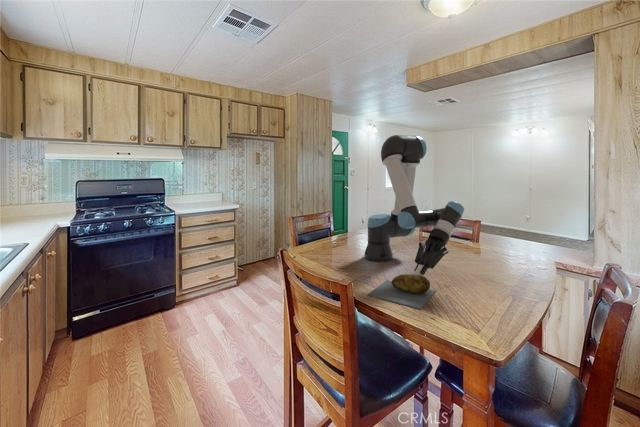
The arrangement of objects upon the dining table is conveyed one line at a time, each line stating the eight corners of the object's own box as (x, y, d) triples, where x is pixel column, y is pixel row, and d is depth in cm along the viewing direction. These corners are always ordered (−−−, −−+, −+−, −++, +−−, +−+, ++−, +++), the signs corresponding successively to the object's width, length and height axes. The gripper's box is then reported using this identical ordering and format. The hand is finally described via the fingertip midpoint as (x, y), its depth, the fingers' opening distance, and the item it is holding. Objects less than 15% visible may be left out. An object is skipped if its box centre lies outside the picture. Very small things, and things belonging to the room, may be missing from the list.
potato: (396, 267, 115) (401, 263, 107) (427, 282, 112) (434, 278, 105) (388, 286, 112) (393, 283, 105) (420, 301, 110) (427, 299, 102)
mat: (367, 295, 107) (367, 294, 107) (387, 280, 122) (387, 279, 122) (420, 309, 95) (420, 308, 95) (436, 291, 110) (436, 290, 110)
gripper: (459, 241, 116) (433, 290, 109) (431, 236, 127) (405, 280, 120) (452, 229, 113) (425, 279, 106) (423, 225, 124) (397, 270, 117)
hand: (414, 280), depth 113 cm, fingers closed
